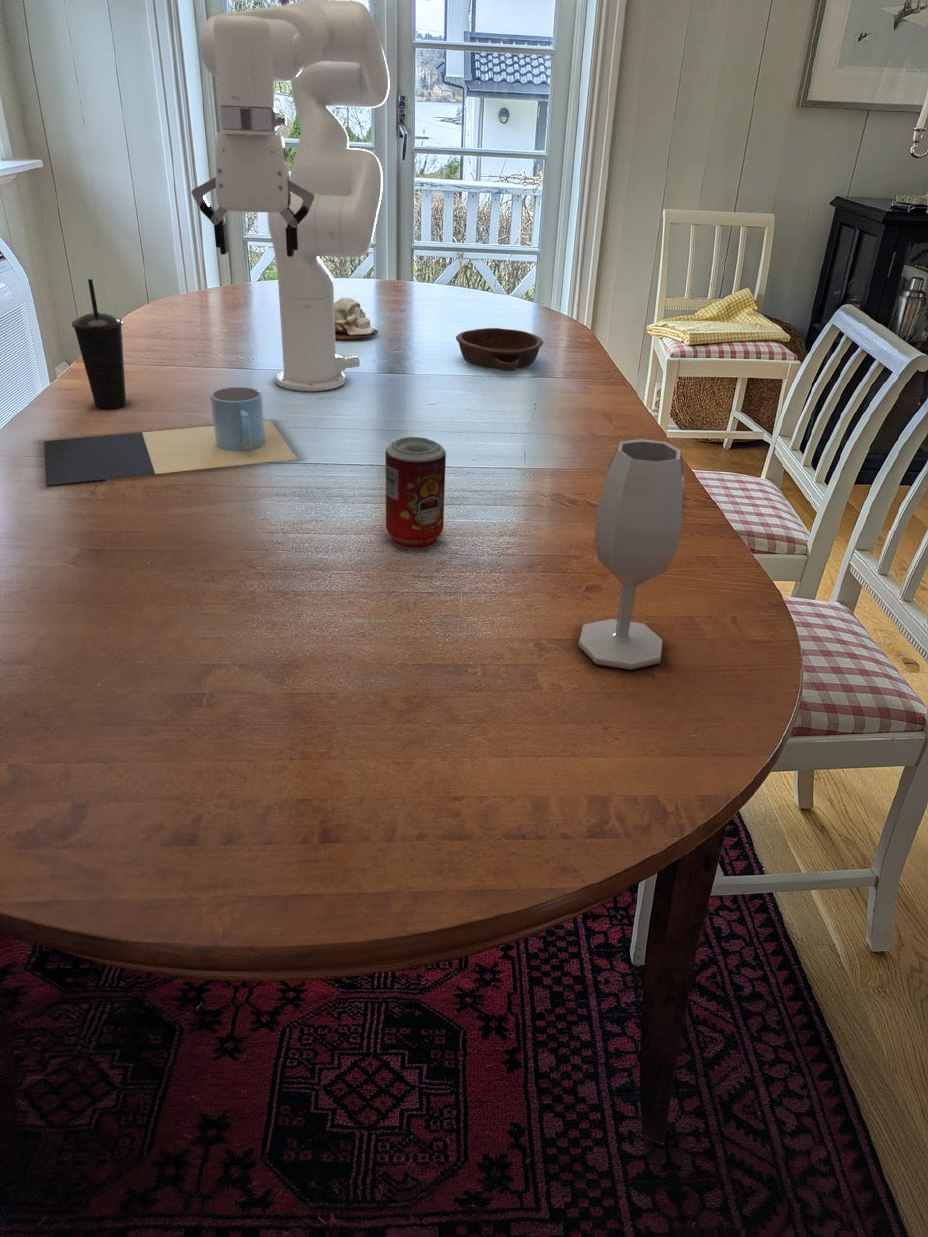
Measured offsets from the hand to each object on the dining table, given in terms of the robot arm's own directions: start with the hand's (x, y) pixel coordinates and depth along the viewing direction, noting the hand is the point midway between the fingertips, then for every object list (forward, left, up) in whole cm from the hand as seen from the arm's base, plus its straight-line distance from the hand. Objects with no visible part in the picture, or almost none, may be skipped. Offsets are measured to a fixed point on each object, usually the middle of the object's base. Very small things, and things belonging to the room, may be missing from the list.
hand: (257, 254), depth 134 cm
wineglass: (+2, +80, -26) cm, 85 cm away
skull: (-42, -44, -26) cm, 66 cm away
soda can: (+5, +48, -26) cm, 55 cm away
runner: (+18, +4, -26) cm, 32 cm away
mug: (+9, +8, -25) cm, 28 cm away
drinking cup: (+18, -22, -26) cm, 38 cm away
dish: (-56, -10, -26) cm, 62 cm away
